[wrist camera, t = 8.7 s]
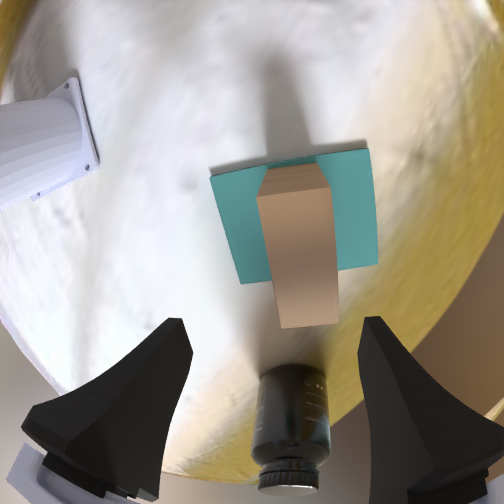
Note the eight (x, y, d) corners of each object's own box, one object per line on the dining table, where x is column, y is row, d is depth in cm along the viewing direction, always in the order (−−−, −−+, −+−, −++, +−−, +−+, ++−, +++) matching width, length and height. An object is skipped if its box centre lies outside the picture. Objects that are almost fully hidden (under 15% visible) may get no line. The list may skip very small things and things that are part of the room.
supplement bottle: (287, 405, 28) (279, 500, 18) (246, 378, 26) (225, 486, 16) (339, 384, 25) (345, 490, 15) (300, 352, 24) (296, 478, 13)
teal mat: (241, 281, 21) (240, 284, 20) (210, 176, 17) (209, 177, 17) (376, 261, 19) (378, 264, 18) (367, 148, 15) (368, 149, 15)
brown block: (327, 264, 19) (339, 322, 14) (284, 269, 19) (281, 328, 14) (316, 162, 16) (330, 187, 10) (267, 169, 16) (256, 197, 11)
